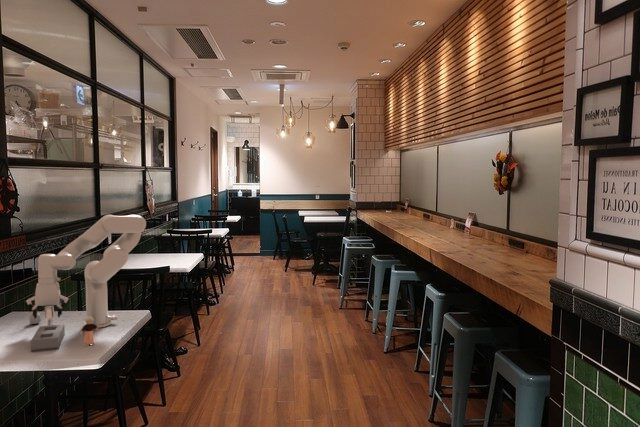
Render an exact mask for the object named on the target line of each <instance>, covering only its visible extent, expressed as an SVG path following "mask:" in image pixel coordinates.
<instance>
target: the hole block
mask: <svg viewBox="0 0 640 427" xmlns="http://www.w3.org/2000/svg"><path fill="white" fill-rule="evenodd" d="M65 327H66V326H65V324H54V325H51V326H45V325H41V326H39V327H38V328H37V330H36V332H35V334H33V337H32V338H31V340H30V351H31V353H36V352H37V353H38V352H45V351H56V350H59V349H60V346H61V344H62V343H63V340H64V338H65V336H66V333H65V332H66V331H65Z"/></svg>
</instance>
